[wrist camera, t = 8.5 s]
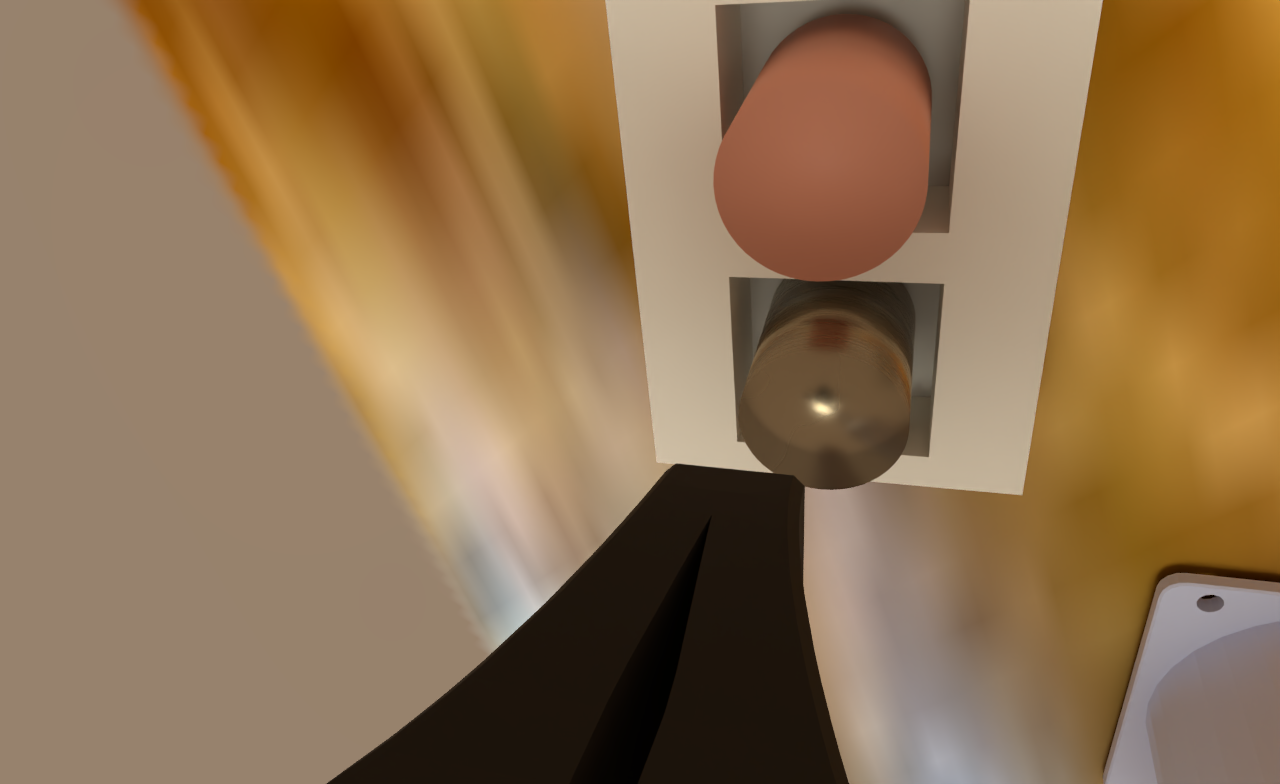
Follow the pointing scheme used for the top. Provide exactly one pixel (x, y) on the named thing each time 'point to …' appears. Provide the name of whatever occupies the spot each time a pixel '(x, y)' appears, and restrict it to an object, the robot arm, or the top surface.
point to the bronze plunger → (831, 382)
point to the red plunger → (829, 151)
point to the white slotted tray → (926, 264)
